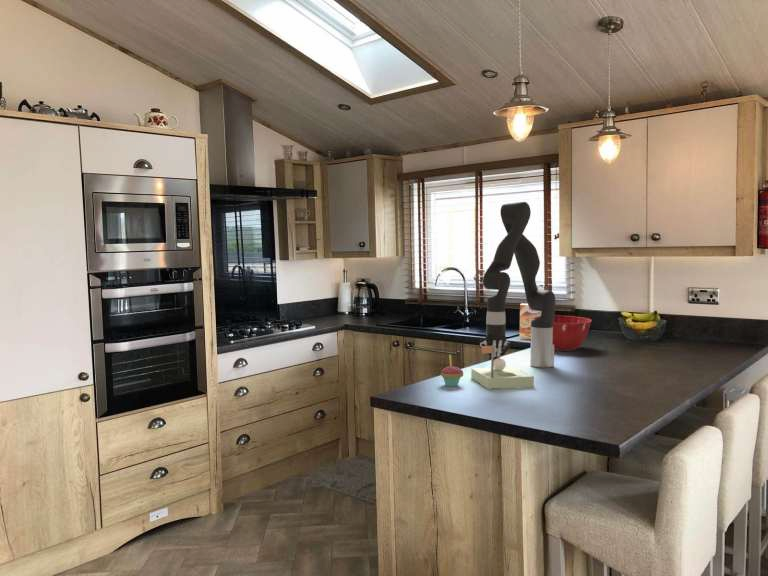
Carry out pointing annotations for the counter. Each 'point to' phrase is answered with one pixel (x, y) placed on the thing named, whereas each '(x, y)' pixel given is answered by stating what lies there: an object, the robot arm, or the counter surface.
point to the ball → (499, 364)
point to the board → (501, 375)
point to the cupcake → (451, 374)
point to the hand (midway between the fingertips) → (495, 366)
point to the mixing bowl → (569, 332)
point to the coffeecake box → (526, 320)
